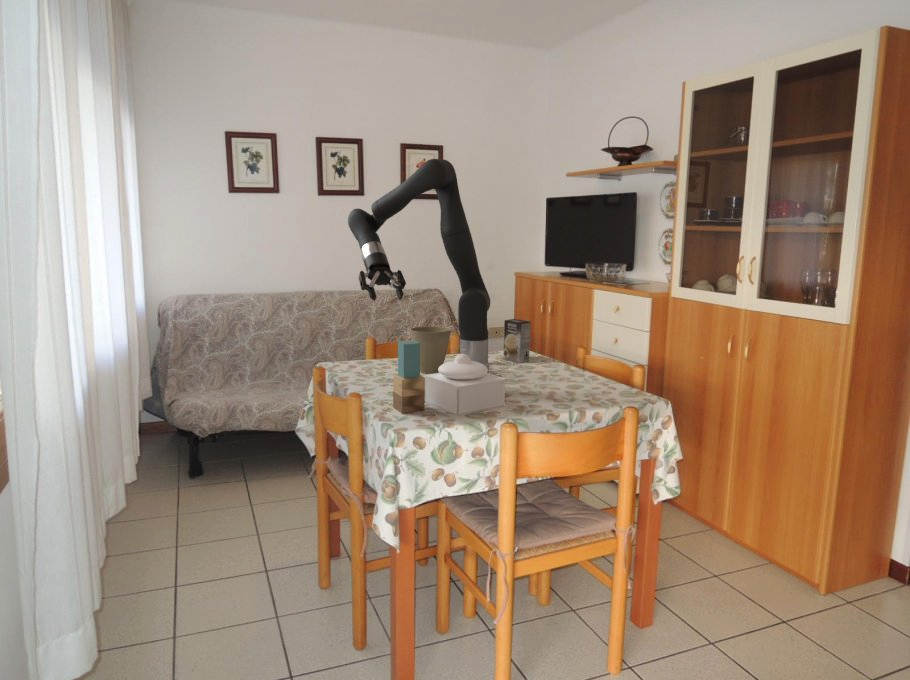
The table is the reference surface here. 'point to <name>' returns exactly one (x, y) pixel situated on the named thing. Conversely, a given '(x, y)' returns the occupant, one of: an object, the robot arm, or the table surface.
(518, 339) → the coffee box
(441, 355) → the plant pot
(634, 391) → the table surface
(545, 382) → the table surface
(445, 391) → the butter dish
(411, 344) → the teal pillar
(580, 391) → the table surface
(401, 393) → the oak block
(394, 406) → the walnut block
